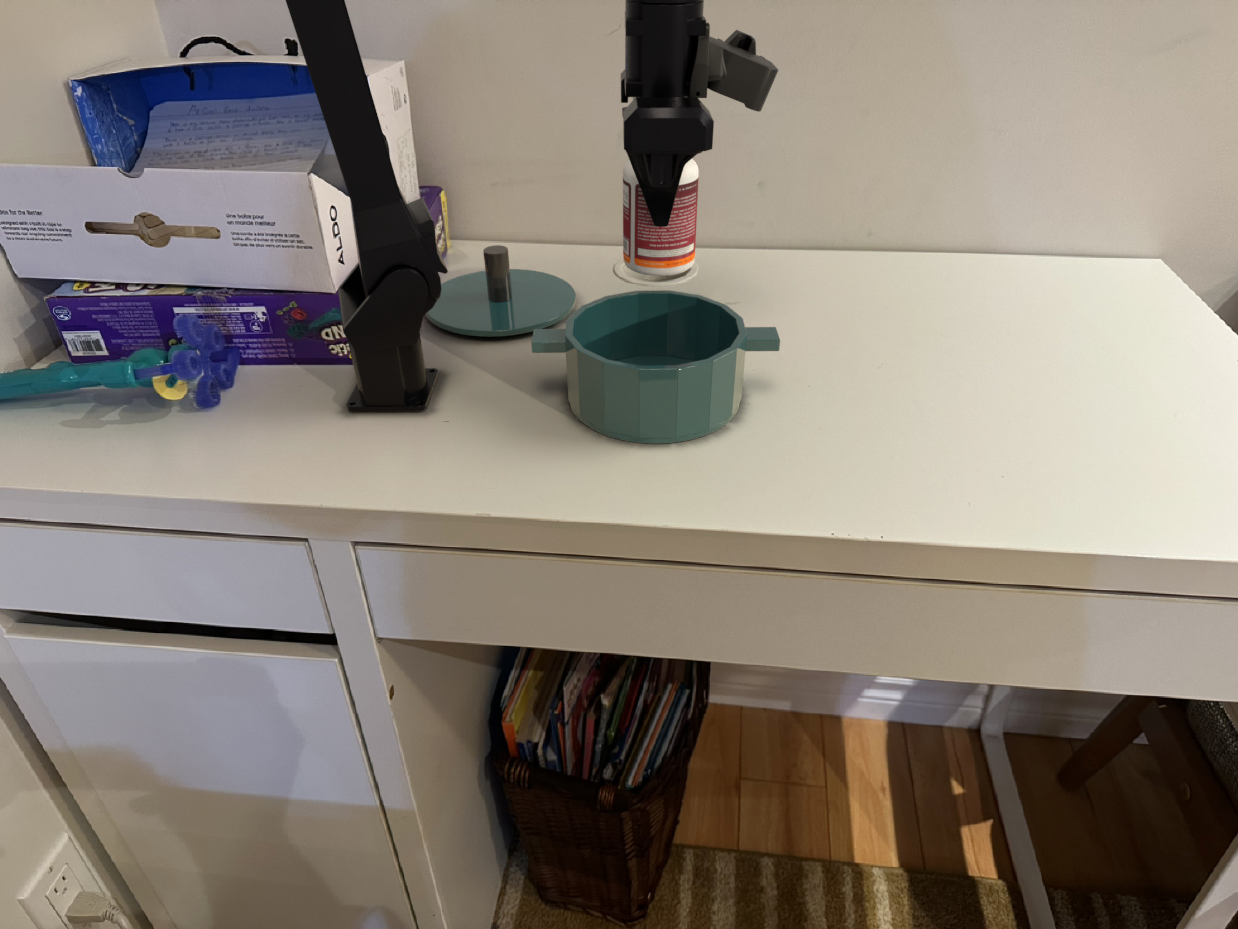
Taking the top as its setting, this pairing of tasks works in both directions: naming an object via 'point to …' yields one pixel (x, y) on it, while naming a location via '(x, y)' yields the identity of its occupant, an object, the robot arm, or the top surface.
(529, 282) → the lid
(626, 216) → the pill bottle
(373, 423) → the top surface
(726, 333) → the teal cooking pot
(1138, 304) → the top surface
